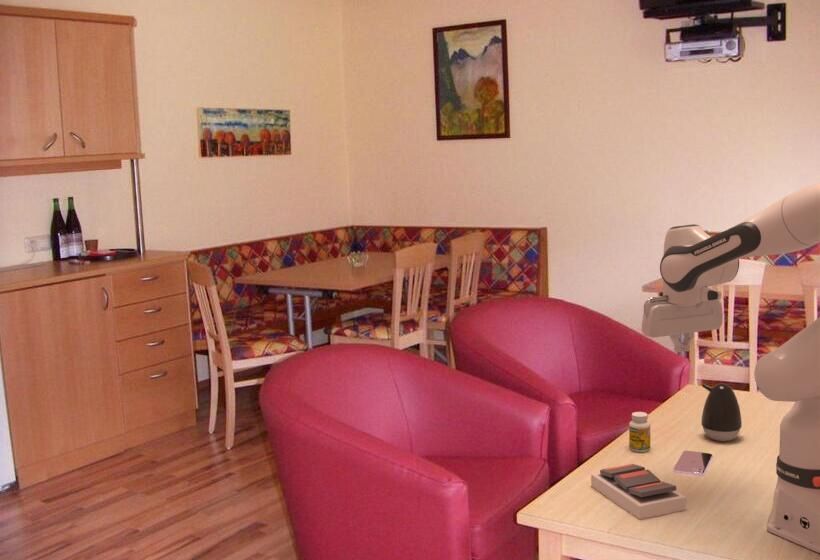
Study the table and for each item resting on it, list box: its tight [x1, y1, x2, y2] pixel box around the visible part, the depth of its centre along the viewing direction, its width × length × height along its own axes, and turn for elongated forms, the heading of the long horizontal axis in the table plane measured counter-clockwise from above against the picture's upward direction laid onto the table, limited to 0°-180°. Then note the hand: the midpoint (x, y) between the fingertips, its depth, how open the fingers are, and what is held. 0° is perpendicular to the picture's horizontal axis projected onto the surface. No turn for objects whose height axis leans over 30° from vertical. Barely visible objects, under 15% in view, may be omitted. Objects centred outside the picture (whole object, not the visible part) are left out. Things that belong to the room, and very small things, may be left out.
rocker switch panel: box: [590, 472, 687, 520], centre depth 208 cm, size 20×12×3 cm, turn 20°
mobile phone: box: [672, 450, 714, 477], centre depth 227 cm, size 8×1×15 cm
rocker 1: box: [599, 463, 646, 478], centre depth 213 cm, size 5×9×1 cm, turn 109°
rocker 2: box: [614, 468, 662, 491], centre depth 207 cm, size 5×9×1 cm, turn 110°
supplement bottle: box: [628, 411, 651, 453], centre depth 237 cm, size 5×5×10 cm
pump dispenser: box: [700, 382, 743, 442], centre depth 243 cm, size 10×10×15 cm
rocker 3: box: [629, 481, 677, 497], centre depth 202 cm, size 5×9×1 cm, turn 109°
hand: (681, 351), depth 214 cm, fingers closed
